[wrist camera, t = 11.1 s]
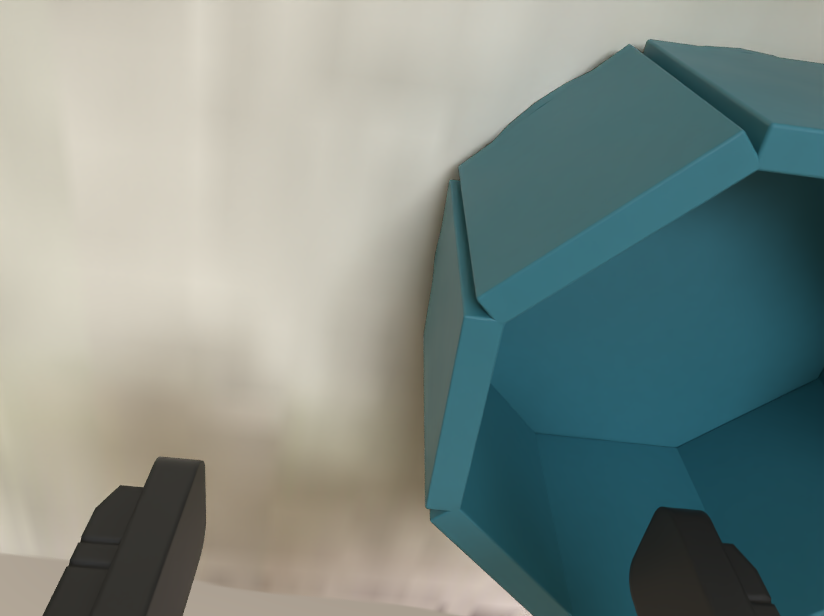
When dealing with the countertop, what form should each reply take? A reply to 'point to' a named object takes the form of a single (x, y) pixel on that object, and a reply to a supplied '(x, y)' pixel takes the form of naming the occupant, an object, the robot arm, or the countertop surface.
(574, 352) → the teal octagonal bowl
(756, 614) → the robot arm
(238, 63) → the countertop surface
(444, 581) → the countertop surface
